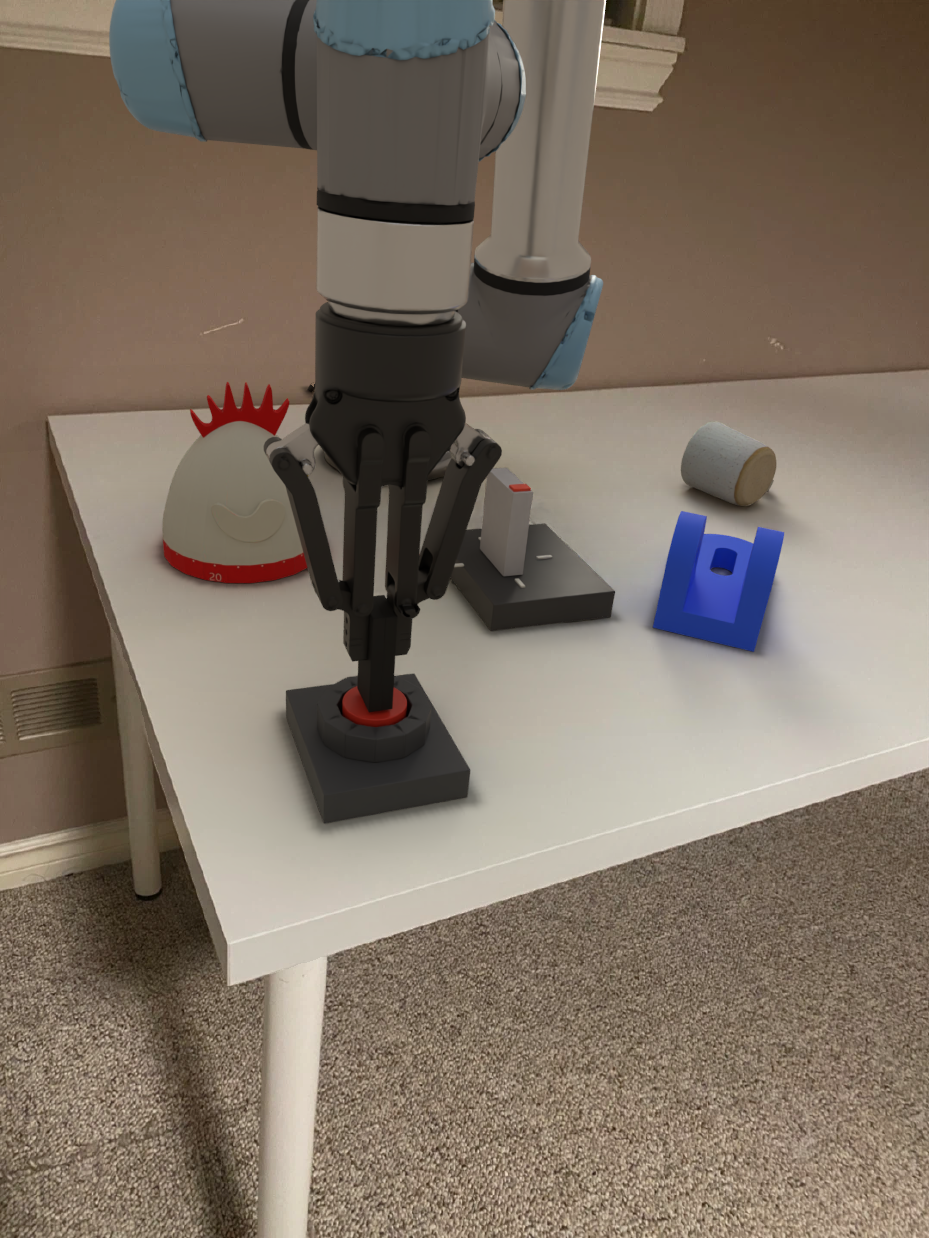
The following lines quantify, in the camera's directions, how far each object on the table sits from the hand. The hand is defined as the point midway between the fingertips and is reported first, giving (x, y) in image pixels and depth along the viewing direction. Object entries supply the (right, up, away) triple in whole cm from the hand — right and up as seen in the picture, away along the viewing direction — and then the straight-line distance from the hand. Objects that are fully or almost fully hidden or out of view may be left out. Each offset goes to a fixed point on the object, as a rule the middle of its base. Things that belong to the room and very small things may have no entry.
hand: (374, 698), depth 59 cm
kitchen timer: (-14, +11, +27) cm, 33 cm away
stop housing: (0, -4, +2) cm, 5 cm away
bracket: (+28, +7, +27) cm, 39 cm away
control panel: (+10, +8, +25) cm, 28 cm away
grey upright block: (+9, +10, +23) cm, 26 cm away
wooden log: (+35, +19, +49) cm, 64 cm away
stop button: (0, -2, +1) cm, 2 cm away
